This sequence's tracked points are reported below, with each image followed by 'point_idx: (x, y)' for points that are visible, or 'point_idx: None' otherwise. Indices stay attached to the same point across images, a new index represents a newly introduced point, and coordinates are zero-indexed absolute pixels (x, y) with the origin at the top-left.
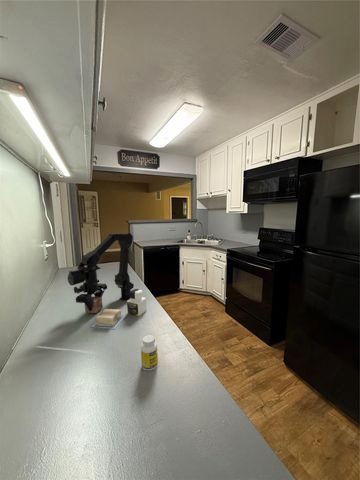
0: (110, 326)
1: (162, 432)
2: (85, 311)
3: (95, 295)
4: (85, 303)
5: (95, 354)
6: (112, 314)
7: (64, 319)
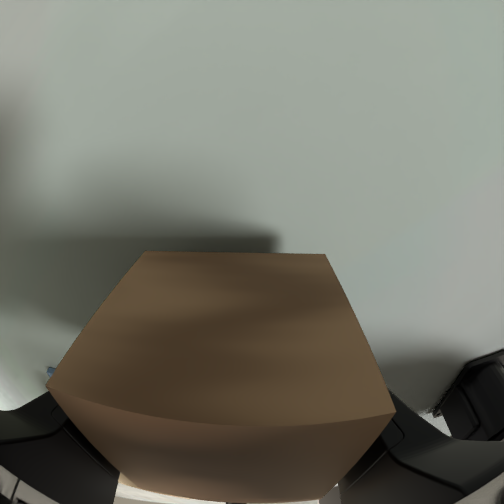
0: None
1: None
2: (139, 257)
3: (381, 470)
4: (34, 409)
5: (15, 405)
6: (129, 482)
7: (46, 67)
